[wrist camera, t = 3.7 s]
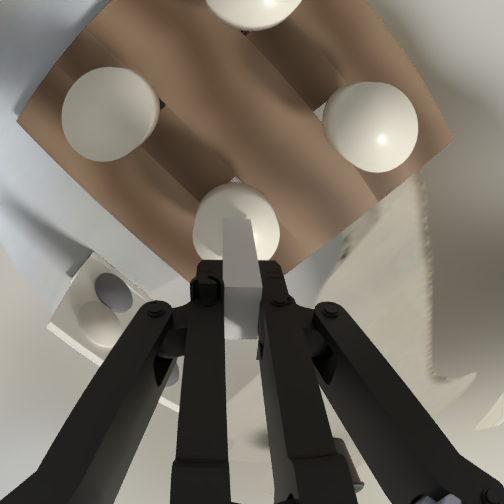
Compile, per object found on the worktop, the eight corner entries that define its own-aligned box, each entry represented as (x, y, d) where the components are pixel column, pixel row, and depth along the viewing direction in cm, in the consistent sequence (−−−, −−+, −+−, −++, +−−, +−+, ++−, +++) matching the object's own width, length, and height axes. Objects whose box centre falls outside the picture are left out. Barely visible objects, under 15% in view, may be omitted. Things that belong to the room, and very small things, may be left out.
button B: (356, 66, 17) (386, 65, 13) (396, 126, 19) (431, 139, 16) (298, 111, 19) (316, 118, 15) (343, 169, 21) (368, 190, 17)
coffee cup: (310, 460, 47) (319, 508, 39) (297, 444, 43) (307, 499, 35) (354, 446, 46) (368, 494, 38) (348, 428, 42) (363, 483, 34)
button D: (237, 158, 21) (239, 176, 17) (284, 210, 23) (296, 238, 19) (183, 207, 22) (174, 235, 18) (232, 252, 24) (233, 287, 20)
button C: (129, 54, 16) (104, 47, 12) (182, 105, 18) (170, 111, 14) (78, 112, 17) (46, 121, 14) (129, 160, 19) (106, 180, 16)
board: (256, -94, 12) (257, -101, 11) (445, 136, 22) (453, 139, 21) (24, 118, 19) (16, 121, 18) (229, 306, 29) (229, 315, 28)
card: (95, 249, 25) (52, 319, 17) (196, 330, 30) (190, 409, 22) (72, 277, 26) (31, 346, 18) (168, 350, 31) (158, 425, 23)
